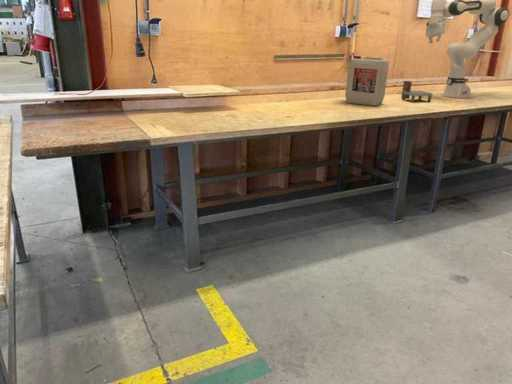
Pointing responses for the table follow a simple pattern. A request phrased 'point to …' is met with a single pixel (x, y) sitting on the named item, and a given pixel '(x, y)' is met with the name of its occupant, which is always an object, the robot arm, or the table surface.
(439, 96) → the table surface
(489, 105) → the table surface
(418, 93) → the step stool
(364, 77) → the jerry can
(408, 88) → the walnut post
